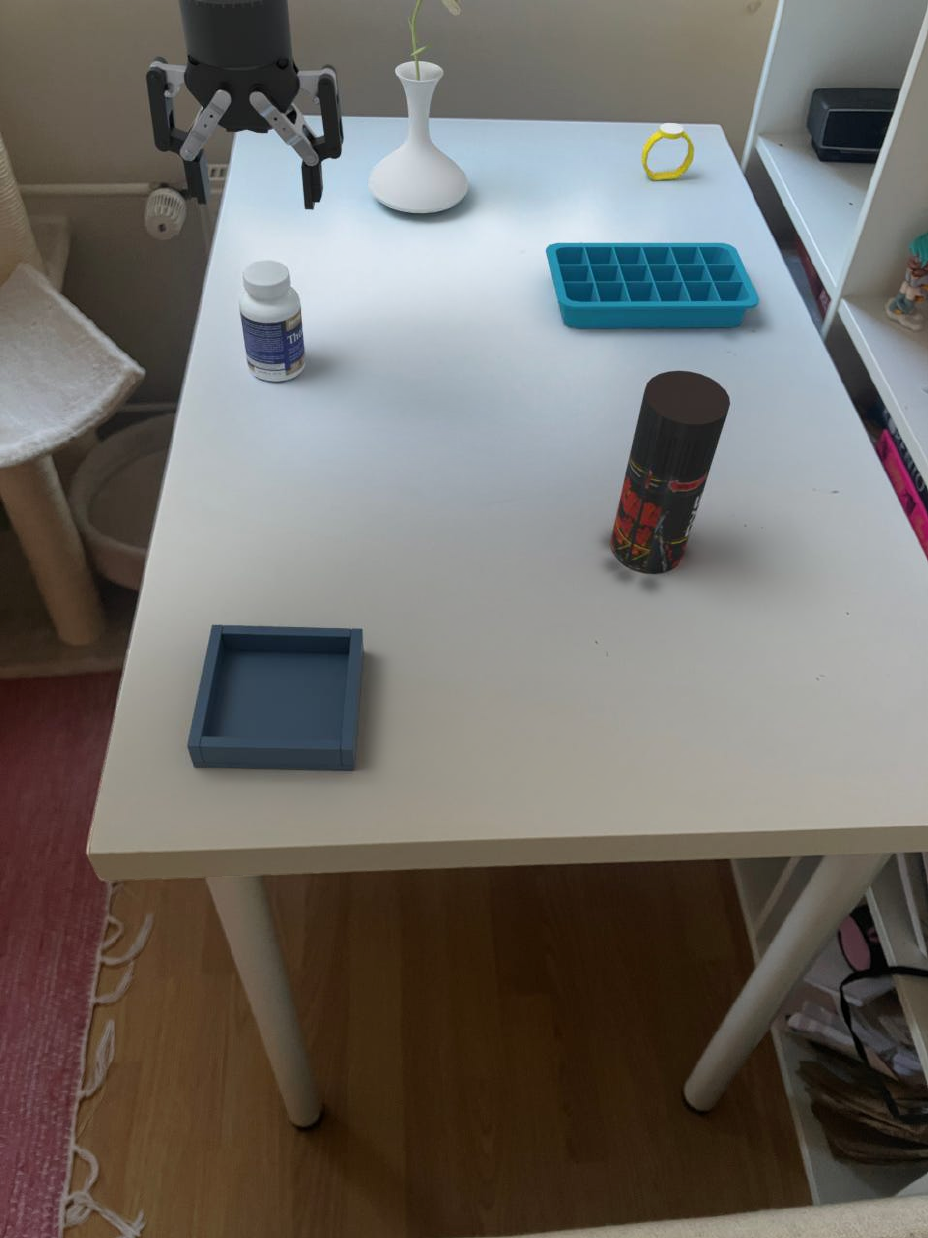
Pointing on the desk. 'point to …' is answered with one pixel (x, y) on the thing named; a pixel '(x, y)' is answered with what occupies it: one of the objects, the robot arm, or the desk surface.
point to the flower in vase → (419, 146)
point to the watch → (669, 133)
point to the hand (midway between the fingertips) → (258, 202)
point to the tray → (278, 698)
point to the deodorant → (668, 469)
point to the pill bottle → (271, 322)
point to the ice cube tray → (650, 285)
